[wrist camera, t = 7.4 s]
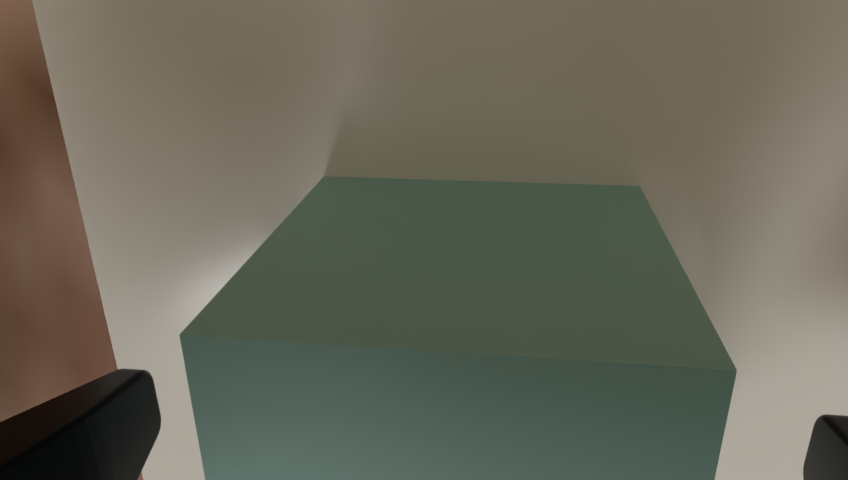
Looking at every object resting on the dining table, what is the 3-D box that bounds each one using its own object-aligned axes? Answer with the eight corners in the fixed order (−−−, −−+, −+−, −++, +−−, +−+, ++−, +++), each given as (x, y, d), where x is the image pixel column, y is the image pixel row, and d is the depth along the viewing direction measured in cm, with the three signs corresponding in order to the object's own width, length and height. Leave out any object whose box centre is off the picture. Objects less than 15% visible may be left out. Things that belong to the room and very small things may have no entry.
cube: (342, 425, 13) (241, 684, 8) (323, 176, 11) (178, 335, 6) (607, 446, 12) (660, 741, 8) (639, 186, 10) (736, 369, 6)
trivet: (180, 542, 16) (164, 570, 15) (38, -122, 10) (1, -129, 10) (805, 606, 14) (820, 641, 13) (1030, -160, 9) (1078, -171, 8)
